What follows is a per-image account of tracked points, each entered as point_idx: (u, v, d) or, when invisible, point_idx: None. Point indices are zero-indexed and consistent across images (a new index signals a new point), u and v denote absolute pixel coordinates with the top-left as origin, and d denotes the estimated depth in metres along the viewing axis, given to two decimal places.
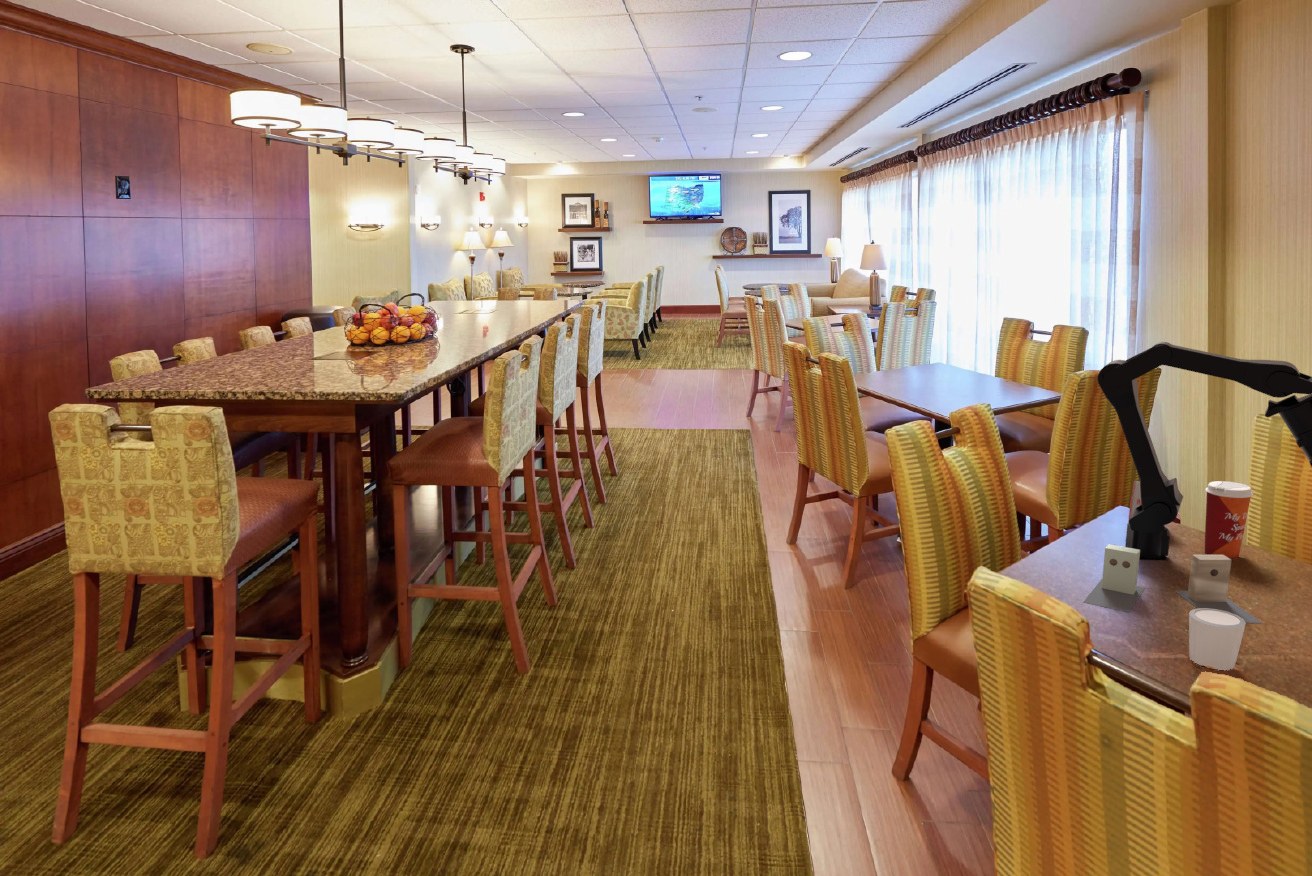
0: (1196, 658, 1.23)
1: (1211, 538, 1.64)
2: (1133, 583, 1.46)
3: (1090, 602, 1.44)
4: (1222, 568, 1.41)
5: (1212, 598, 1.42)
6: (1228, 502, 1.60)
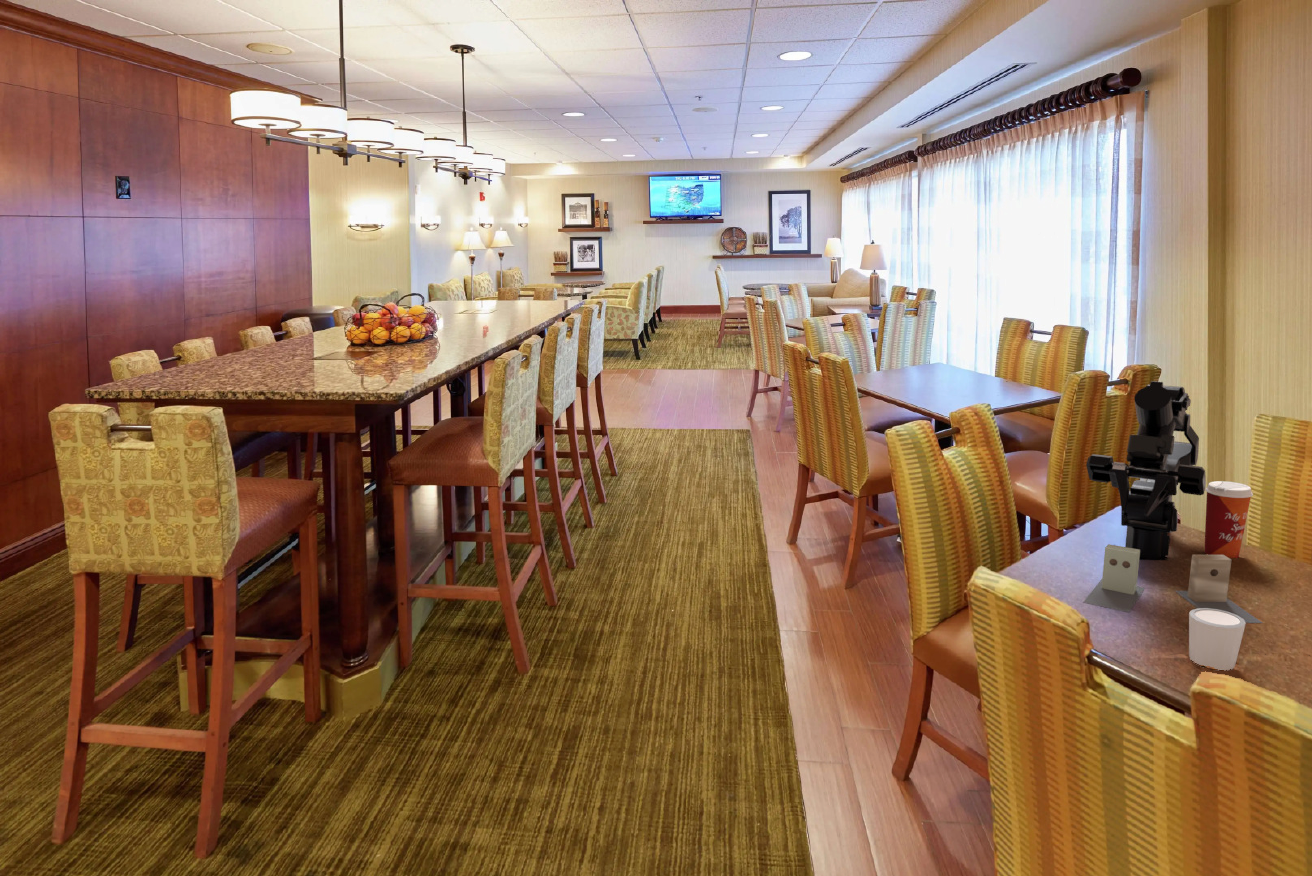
0: (1196, 658, 1.23)
1: (1211, 538, 1.64)
2: (1133, 583, 1.46)
3: (1090, 602, 1.44)
4: (1222, 568, 1.41)
5: (1212, 598, 1.42)
6: (1228, 502, 1.60)
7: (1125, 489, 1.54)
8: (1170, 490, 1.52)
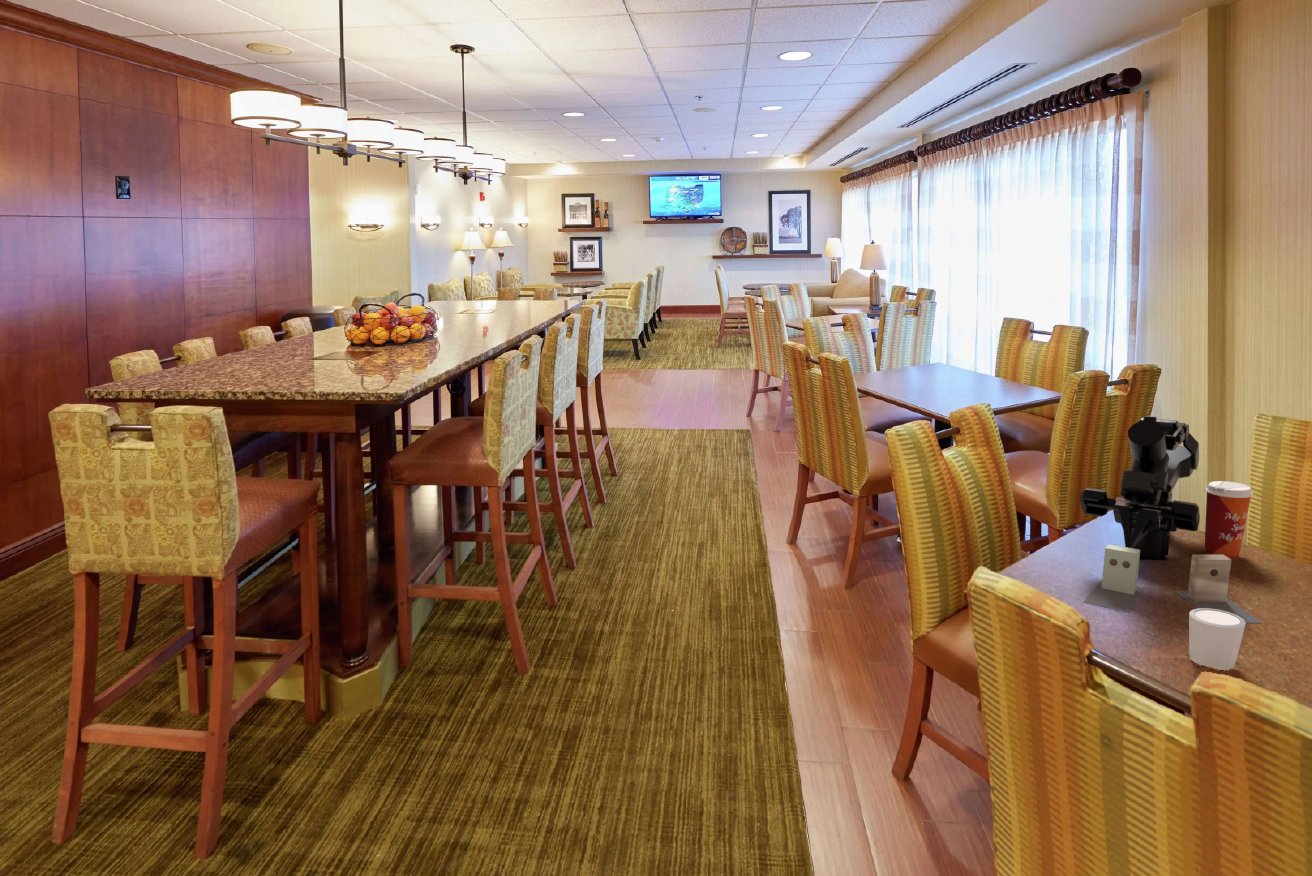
0: (1196, 658, 1.23)
1: (1211, 538, 1.64)
2: (1133, 583, 1.46)
3: (1090, 602, 1.44)
4: (1222, 568, 1.41)
5: (1212, 598, 1.42)
6: (1228, 502, 1.60)
7: (1129, 526, 1.52)
8: (1153, 524, 1.53)
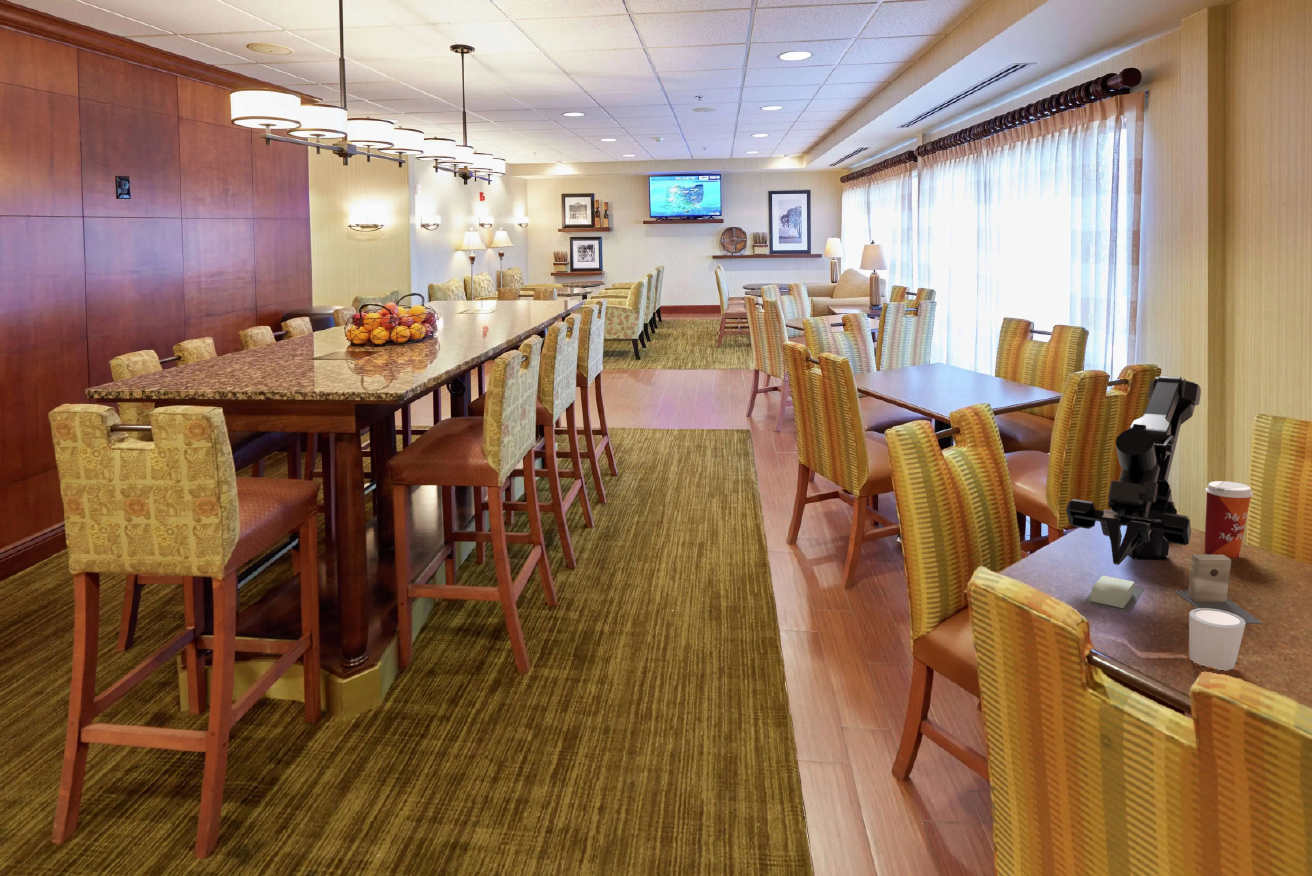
0: (1196, 658, 1.23)
1: (1211, 538, 1.64)
2: None
3: (1090, 602, 1.44)
4: (1222, 568, 1.41)
5: (1212, 598, 1.42)
6: (1228, 502, 1.60)
7: (1117, 539, 1.45)
8: (1143, 537, 1.46)
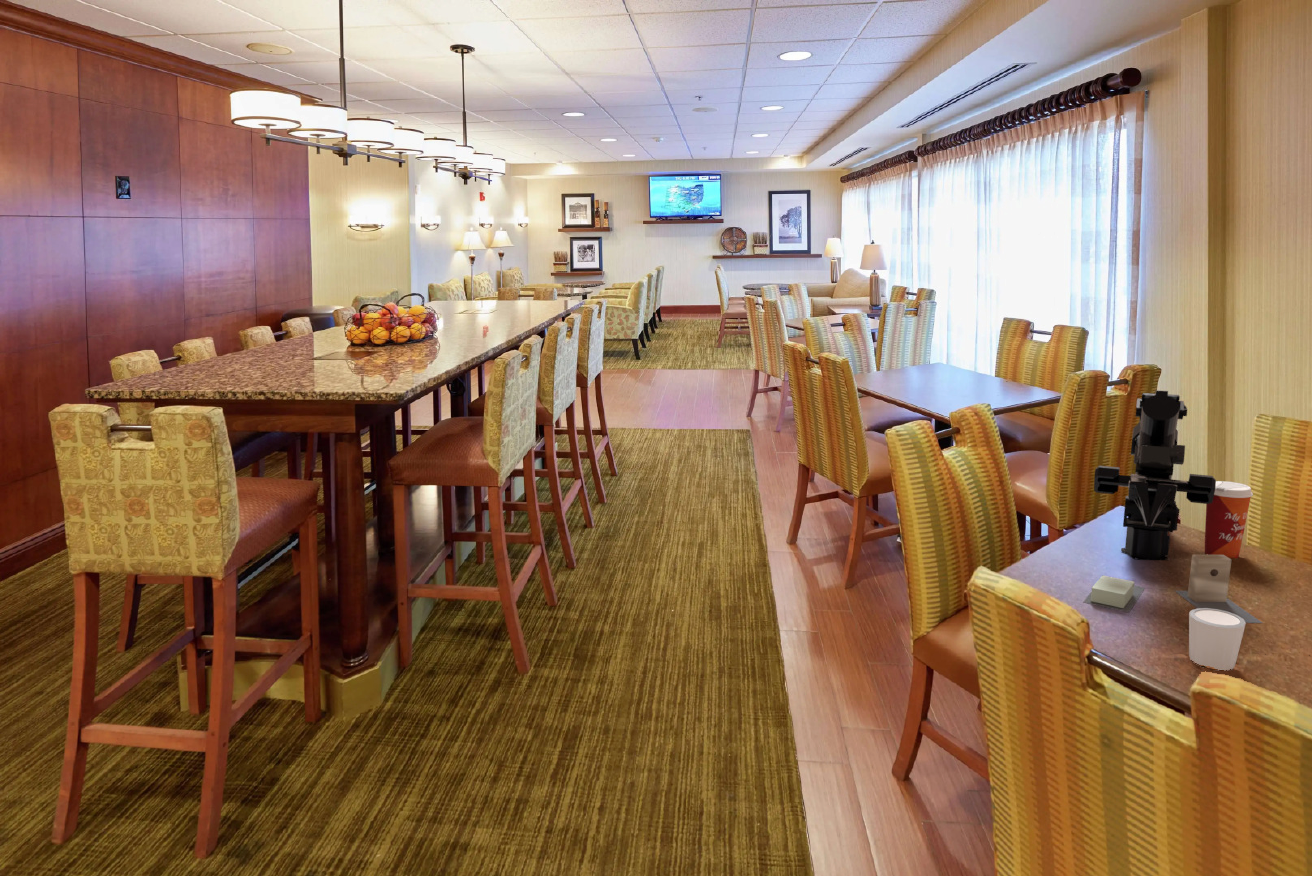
0: (1196, 658, 1.23)
1: (1211, 538, 1.64)
2: None
3: (1090, 602, 1.44)
4: (1222, 568, 1.41)
5: (1212, 598, 1.42)
6: (1228, 502, 1.60)
7: (1147, 502, 1.50)
8: (1169, 499, 1.52)
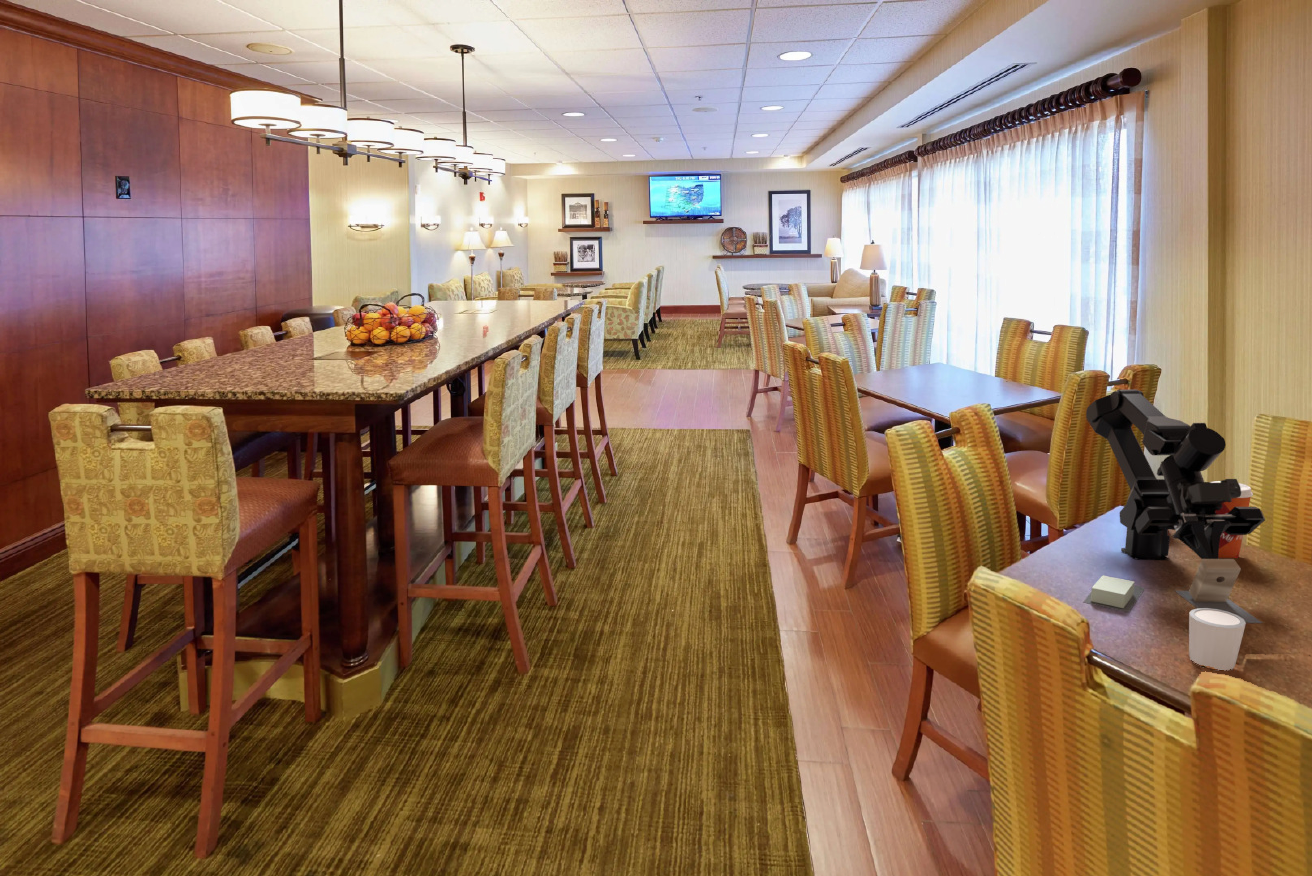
0: (1196, 658, 1.23)
1: None
2: None
3: (1090, 602, 1.44)
4: (1229, 575, 1.39)
5: (1213, 599, 1.42)
6: (1228, 502, 1.60)
7: (1206, 541, 1.43)
8: None
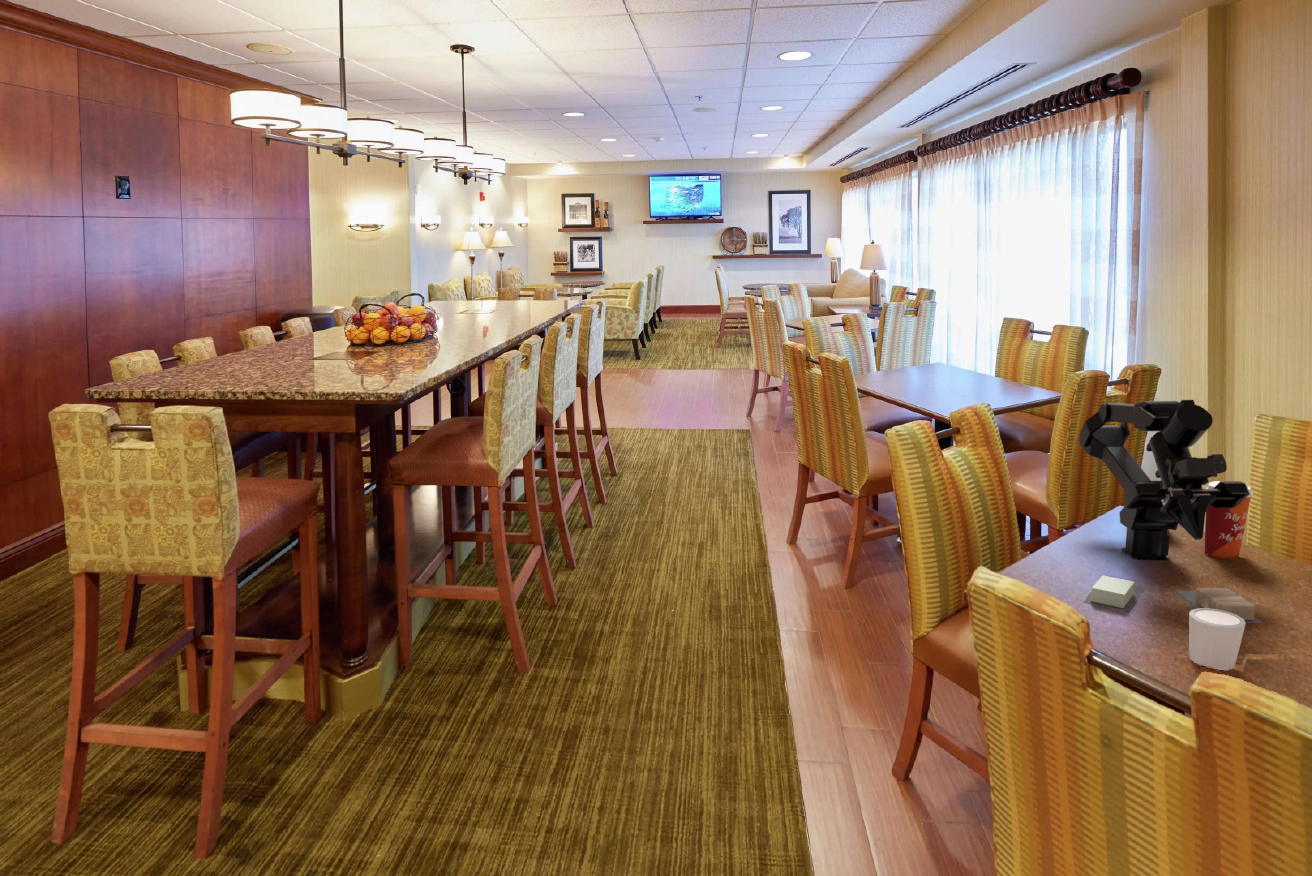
0: (1196, 658, 1.23)
1: (1211, 538, 1.64)
2: None
3: (1090, 602, 1.44)
4: None
5: None
6: None
7: (1192, 515, 1.47)
8: None
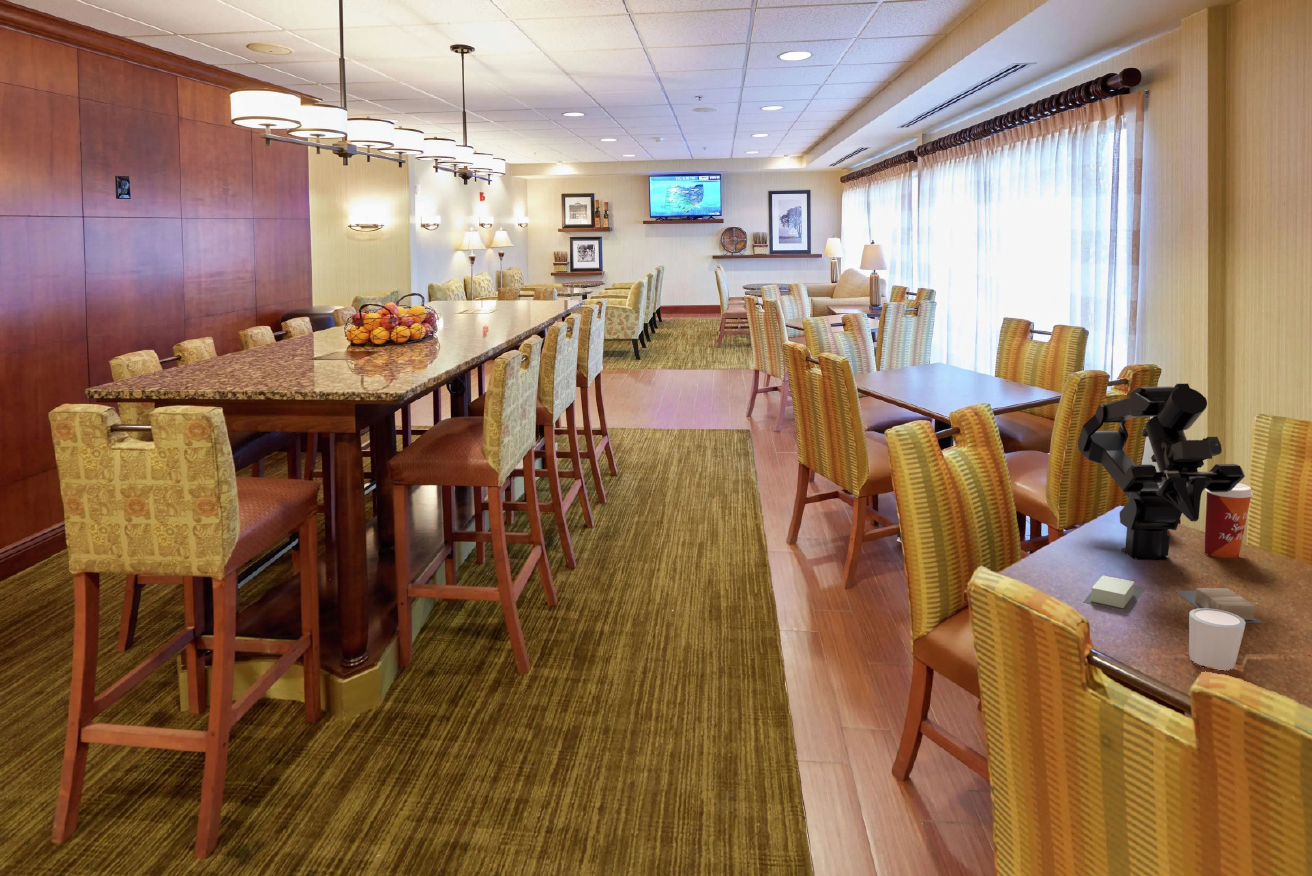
0: (1196, 658, 1.23)
1: (1211, 538, 1.64)
2: None
3: (1090, 602, 1.44)
4: None
5: None
6: (1228, 502, 1.60)
7: (1188, 497, 1.48)
8: None
